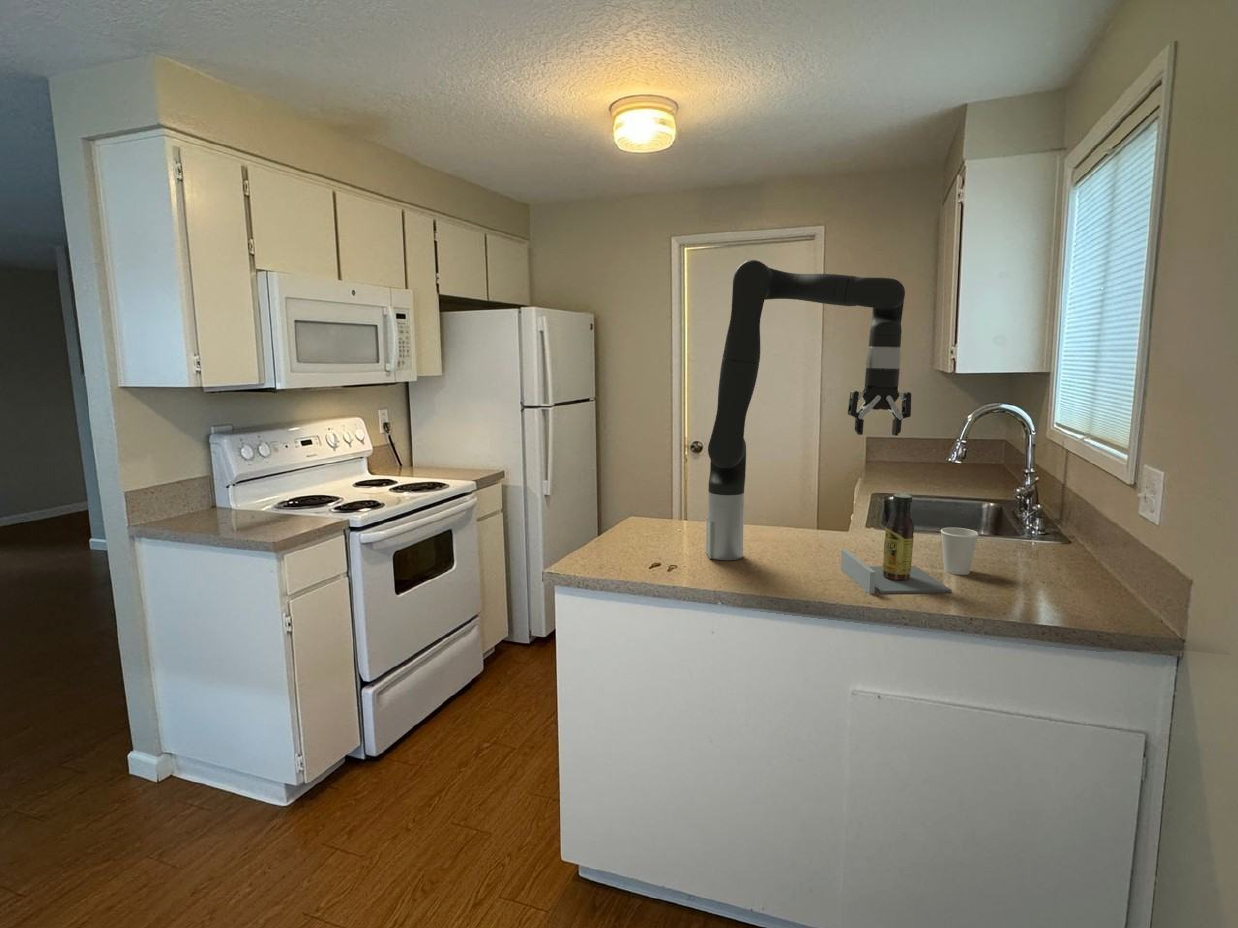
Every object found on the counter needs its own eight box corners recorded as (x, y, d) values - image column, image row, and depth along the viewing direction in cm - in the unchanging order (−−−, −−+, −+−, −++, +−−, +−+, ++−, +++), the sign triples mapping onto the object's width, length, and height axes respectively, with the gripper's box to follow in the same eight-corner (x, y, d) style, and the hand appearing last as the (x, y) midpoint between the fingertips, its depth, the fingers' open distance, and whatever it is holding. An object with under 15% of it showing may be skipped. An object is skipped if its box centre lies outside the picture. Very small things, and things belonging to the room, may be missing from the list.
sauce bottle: (877, 573, 169) (881, 492, 166) (902, 572, 170) (907, 491, 167) (890, 582, 163) (895, 497, 160) (916, 581, 164) (921, 497, 160)
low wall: (869, 593, 157) (870, 572, 156) (840, 569, 175) (841, 549, 174) (874, 593, 157) (875, 572, 156) (845, 569, 175) (846, 549, 174)
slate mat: (880, 593, 157) (880, 591, 157) (851, 569, 175) (851, 566, 175) (951, 592, 158) (951, 589, 158) (914, 568, 176) (915, 565, 176)
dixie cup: (973, 567, 176) (976, 528, 174) (978, 578, 168) (981, 537, 166) (936, 564, 178) (939, 526, 177) (939, 574, 170) (942, 534, 169)
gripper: (858, 366, 163) (853, 436, 166) (919, 367, 163) (913, 437, 166) (847, 365, 170) (842, 432, 173) (906, 366, 171) (900, 433, 173)
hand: (877, 434), depth 169 cm, fingers open, 8 cm apart
